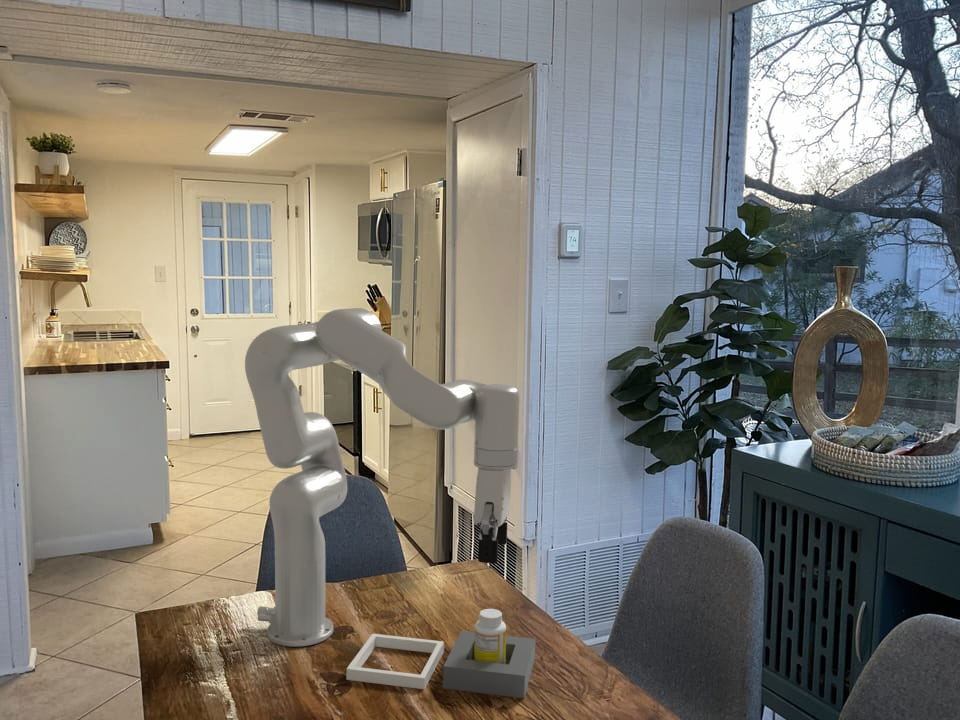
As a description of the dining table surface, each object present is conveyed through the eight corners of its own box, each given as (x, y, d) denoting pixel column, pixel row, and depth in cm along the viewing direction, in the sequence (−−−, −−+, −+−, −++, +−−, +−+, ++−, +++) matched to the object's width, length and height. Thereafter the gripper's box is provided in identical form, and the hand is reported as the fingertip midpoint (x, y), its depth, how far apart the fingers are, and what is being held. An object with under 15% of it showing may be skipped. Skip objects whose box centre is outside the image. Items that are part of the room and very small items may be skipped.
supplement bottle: (491, 657, 147) (493, 603, 146) (511, 670, 143) (513, 614, 142) (467, 666, 144) (468, 611, 143) (487, 679, 139) (488, 622, 138)
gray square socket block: (443, 688, 138) (443, 666, 137) (460, 651, 152) (461, 630, 151) (524, 698, 135) (524, 675, 135) (534, 659, 149) (535, 638, 149)
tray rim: (346, 679, 140) (346, 668, 140) (372, 643, 154) (372, 633, 154) (424, 689, 138) (424, 678, 137) (443, 651, 151) (444, 641, 151)
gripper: (483, 444, 148) (481, 535, 150) (463, 466, 131) (461, 568, 133) (524, 447, 147) (521, 538, 149) (509, 470, 130) (506, 572, 132)
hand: (492, 552), depth 141 cm, fingers open, 9 cm apart
